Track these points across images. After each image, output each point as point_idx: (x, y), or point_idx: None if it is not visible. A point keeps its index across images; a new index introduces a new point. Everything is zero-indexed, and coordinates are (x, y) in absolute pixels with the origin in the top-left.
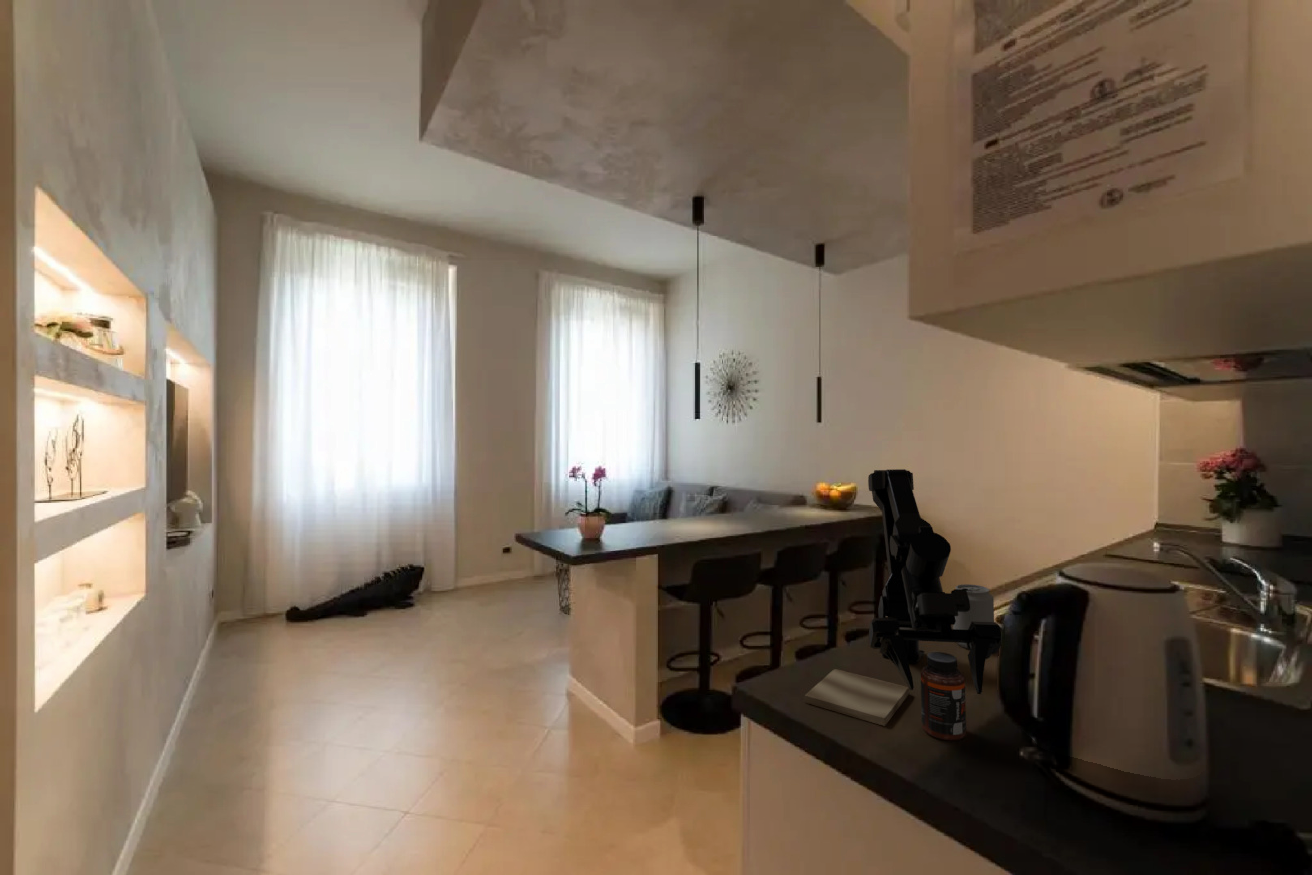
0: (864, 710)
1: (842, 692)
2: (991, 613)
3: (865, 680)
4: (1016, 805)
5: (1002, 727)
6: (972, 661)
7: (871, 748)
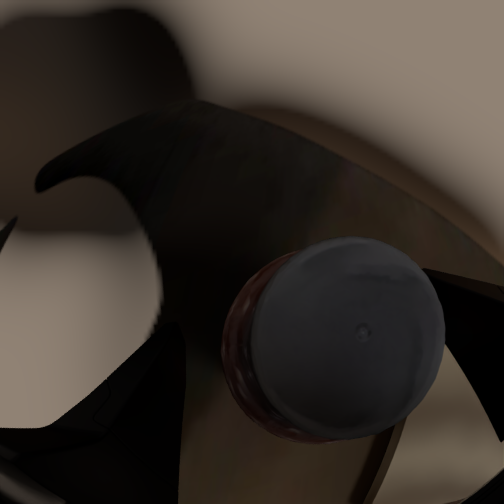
0: None
1: None
2: None
3: (455, 484)
4: (202, 152)
5: None
6: (152, 464)
7: (418, 226)
